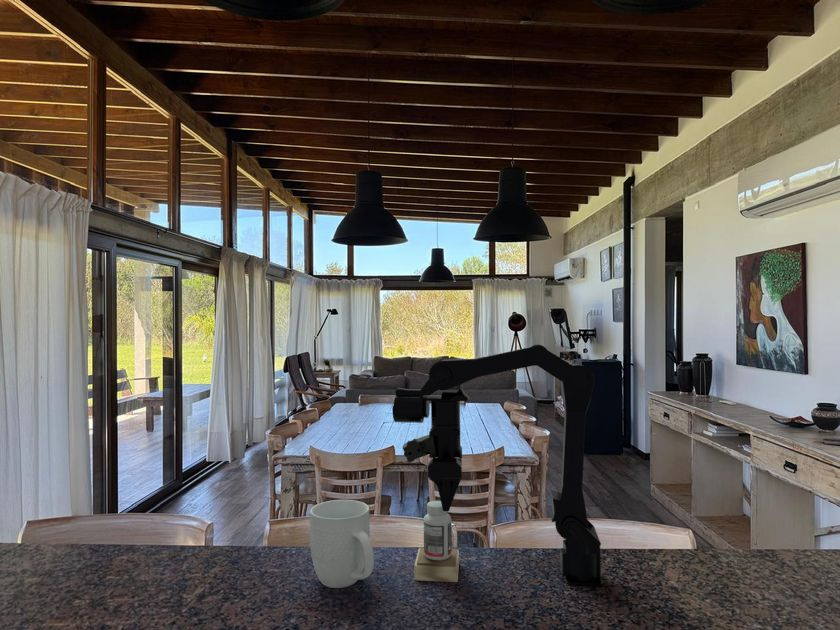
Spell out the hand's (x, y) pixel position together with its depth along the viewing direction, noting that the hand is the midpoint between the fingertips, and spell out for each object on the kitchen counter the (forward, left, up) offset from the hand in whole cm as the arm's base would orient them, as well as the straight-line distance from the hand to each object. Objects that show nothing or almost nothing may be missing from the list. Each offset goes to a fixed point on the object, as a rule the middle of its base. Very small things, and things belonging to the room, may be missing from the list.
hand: (446, 503), depth 101 cm
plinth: (+2, +2, -12) cm, 13 cm away
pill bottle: (+2, +2, -9) cm, 10 cm away
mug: (+19, +8, -13) cm, 24 cm away
